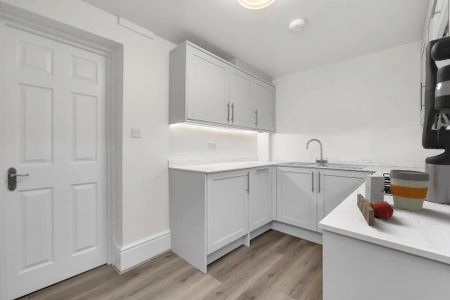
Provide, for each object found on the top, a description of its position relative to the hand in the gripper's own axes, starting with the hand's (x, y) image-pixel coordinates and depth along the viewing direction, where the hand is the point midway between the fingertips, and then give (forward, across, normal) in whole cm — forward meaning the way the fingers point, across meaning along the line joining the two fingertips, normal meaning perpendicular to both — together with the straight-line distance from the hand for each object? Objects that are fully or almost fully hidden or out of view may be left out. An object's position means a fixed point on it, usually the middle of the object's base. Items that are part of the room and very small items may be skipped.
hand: (448, 140), depth 74 cm
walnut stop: (+28, -9, +26) cm, 39 cm away
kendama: (+28, -5, +22) cm, 36 cm away
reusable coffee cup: (+28, +9, +8) cm, 31 cm away
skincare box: (+28, +12, +19) cm, 36 cm away
